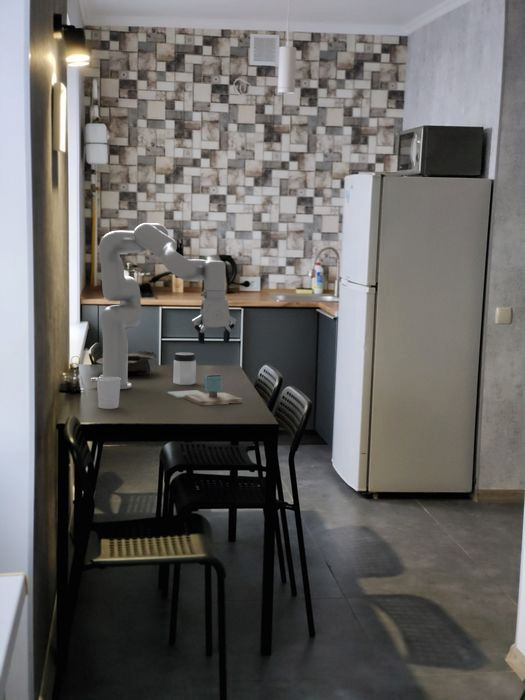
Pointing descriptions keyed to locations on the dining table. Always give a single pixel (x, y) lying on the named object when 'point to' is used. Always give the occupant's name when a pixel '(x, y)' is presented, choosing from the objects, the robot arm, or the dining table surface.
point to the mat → (184, 393)
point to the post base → (213, 398)
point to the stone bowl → (138, 362)
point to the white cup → (108, 392)
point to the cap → (213, 382)
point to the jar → (184, 369)
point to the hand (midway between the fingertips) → (214, 342)
